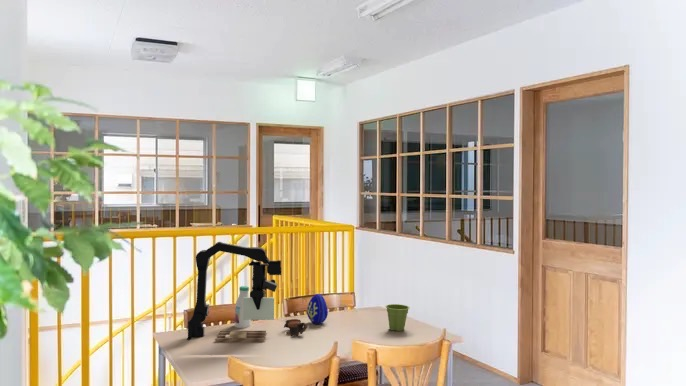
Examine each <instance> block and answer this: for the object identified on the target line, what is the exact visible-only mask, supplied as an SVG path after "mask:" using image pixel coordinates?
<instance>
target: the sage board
mask: <svg viewBox="0 0 686 386" xmlns="http://www.w3.org/2000/svg"><path fill="white" fill-rule="evenodd" d="M243 320H251V321H273V320H275V297H270V296H269V297H268V296H267V297H265V296H264V297H263V298H262V299H261V304H260V309H259V310H257V308H256V306H255V303H254V301H253V299H252V297H250V296H249V297H244V298H243Z"/></svg>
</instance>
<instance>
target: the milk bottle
mask: <svg viewBox="0 0 686 386" xmlns="http://www.w3.org/2000/svg"><path fill="white" fill-rule="evenodd" d="M249 290H250V287H249V286H247V285H244V286H243V285H242V286H239V295H238V297H237V299H236V302H235V307H234V308H235V312H234V327H235V328H238V329H239V328H240V329H242V328H243V329H247V328H250V327H251V324H252V323H251V322H252V320H243V298H244V297H250V291H249Z"/></svg>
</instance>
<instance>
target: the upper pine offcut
mask: <svg viewBox="0 0 686 386" xmlns="http://www.w3.org/2000/svg"><path fill="white" fill-rule="evenodd" d="M230 331H231V332H230V337H246V334H247V331H248V330H230Z"/></svg>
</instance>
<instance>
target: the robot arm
mask: <svg viewBox="0 0 686 386" xmlns="http://www.w3.org/2000/svg"><path fill="white" fill-rule="evenodd" d="M219 252H221V253H228V254H233V255H238V256H244V257H247V258H249V259H251V261H250V262H249V263H248V266H249V267H250V266H251V267H252V279H251V281H252V286H251V291H249V297H252V299H253V301H254V303H255V306H256V308H257V310H259V309H260V304H261V299H262V298H263V297H265V295H266V291H268V290H269V291H271V292H273V293H275V292H276V290H277V287H278V283H276V279H274V278H273V279H270V280H267V277H266V274H268V276H282V260H280V259H279V260H270V258H269V257H268V256H267V255H266V253H267V252H266V250H265V248H263V247H259V246H258V247H257V246H255V247H254V246H253V247H251V246H250V247H249V246H248V247H247V246H241V245H236V244H231V243H225V242H222V241H217V242H216V243H215V244H213V245H212V246H210V247H209V248H207V249H202V250H200V251H199V252H198V253H196V254H195V263H196V268H197V285H196V302H195V306H194V310H193V313H192V315H191V317H190V318H189V320H188V321H187V338H186V340H189V341H191V340H192V339H193V338H194V339H197V338H203V337H204V336H205V326H204V323H203V322H205V320H206V318H207V317H208V315H209V314H210V311H209V308H210V304H209V303H208V304H207V301H206V297H207V296H206V295H207V279H208V278H207V276H208V269H209V265H210V262H211V257H213V256H214V255H216V254H217V253H219Z"/></svg>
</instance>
